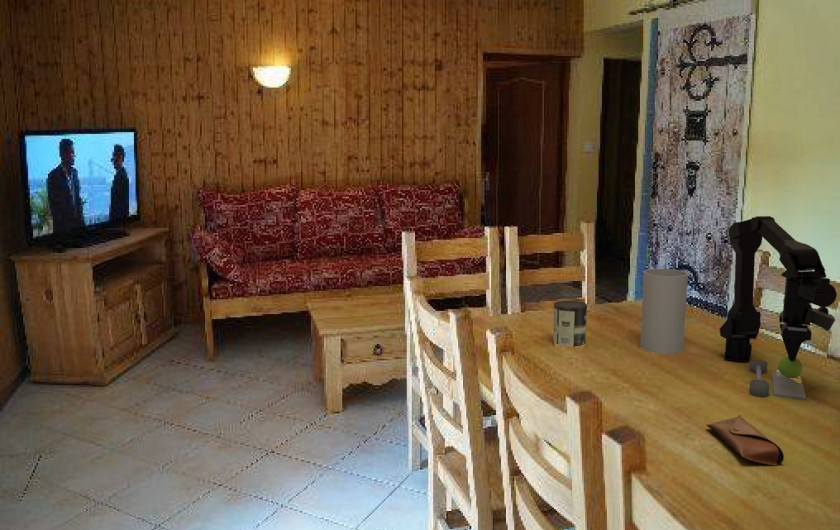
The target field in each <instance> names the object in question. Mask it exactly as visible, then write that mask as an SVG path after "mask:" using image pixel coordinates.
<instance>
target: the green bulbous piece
mask: <svg viewBox="0 0 840 530" xmlns="http://www.w3.org/2000/svg"><path fill="white" fill-rule="evenodd" d="M803 367H804V366H803V364H802V362H801V360H800V359H798V358H797V357H796V359H795V361H790V360H789V357H788V356H785V357H783V358H781V359H780V361H779V362H778V370H779V371H780V373H781V374H782V375H783V376H785V377H788V378H795V377H797V376H801V374H802V372H803Z"/></svg>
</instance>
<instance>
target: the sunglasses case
mask: <svg viewBox="0 0 840 530" xmlns="http://www.w3.org/2000/svg"><path fill="white" fill-rule="evenodd" d="M706 427H707V428H709V429H711V430H712V431H713V432H714V433H715V434H716V435H717V436H718V437H720V439H722V440H723V442H725V443H726V444H727V445H728V447H730V448H731V449H732V450H733V451H734V452H735V453H737V454H738V455H739V456H741V458H744V459H745V460H748V461H751V462H755V463H757V464H763V465H770V466H776V467H777V466H779V465H781V464H782V463H783V461H784V459H785V455H784V452H783V450H782V448H781V447H780V446H779V445H778V444H777V443H776V442H774V441H773V440H771V439H769V438H768V437H767V436H766V435H765V434H763V432H761V431H760V430H759V429H758V428H756V427H755V426H754V425H752V424H751V423H750V422H749V421H747V420H746V419H745V418H744V417H742V415H740V414H738V416H735V417H732V418H727V419H723V420H719V421H716V422H713V423H706Z"/></svg>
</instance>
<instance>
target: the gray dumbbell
mask: <svg viewBox="0 0 840 530" xmlns="http://www.w3.org/2000/svg"><path fill="white" fill-rule="evenodd" d="M748 371H749V372H750V371H751V372H750V373H752V372H753V373H752V374H755V375H756V377H755V378H756V379H751V380H750V381H749V391H748V392H749V393H748V394H749V395H750V396H752V397H757V398H768V397H769V392H770V383H769V382H768V381H765V380H763V377H762V375H764V374H763V373H765V374H767V373H768V362H767V361H765V360H761V359H751V360H750V359H749V368H748ZM766 372H767V373H766Z"/></svg>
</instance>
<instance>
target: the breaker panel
mask: <svg viewBox="0 0 840 530" xmlns="http://www.w3.org/2000/svg"><path fill="white" fill-rule="evenodd" d="M775 371H776V372H772V371H771V376H772V377H771V378H772V385H773V396H774V397H778V398H779V397H780V398H787V399H794V400H795V399H796V400H802V399H804V400H803V401H806V400H807V395H806V392H805V391H806V390H805V387H804V383H803V384H802V383H798V382H796V381H794V380H793V379H790V378H788V377H785V376H783V375H782V374H781V373H780V371H779V369H776V370H775ZM795 378H797V379H798V376H797V377H795Z"/></svg>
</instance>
